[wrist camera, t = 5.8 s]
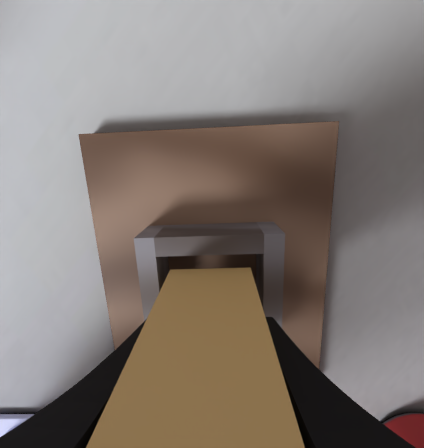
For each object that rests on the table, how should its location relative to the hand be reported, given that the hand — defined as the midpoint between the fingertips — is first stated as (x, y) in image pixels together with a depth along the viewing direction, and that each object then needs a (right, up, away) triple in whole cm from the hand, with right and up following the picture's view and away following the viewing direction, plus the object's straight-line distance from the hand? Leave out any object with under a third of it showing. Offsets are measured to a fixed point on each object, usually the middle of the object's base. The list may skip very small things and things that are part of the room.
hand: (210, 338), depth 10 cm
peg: (0, +1, +2) cm, 2 cm away
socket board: (0, +2, +6) cm, 6 cm away
